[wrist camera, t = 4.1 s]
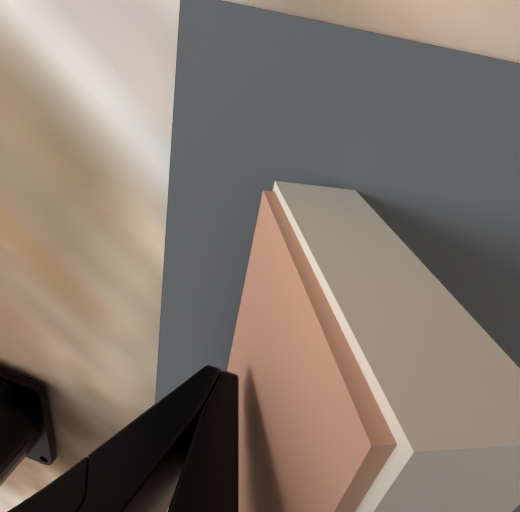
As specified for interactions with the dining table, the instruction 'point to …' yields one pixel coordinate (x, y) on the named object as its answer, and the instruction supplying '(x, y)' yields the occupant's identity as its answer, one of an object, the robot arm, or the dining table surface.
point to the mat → (333, 163)
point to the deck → (364, 372)
